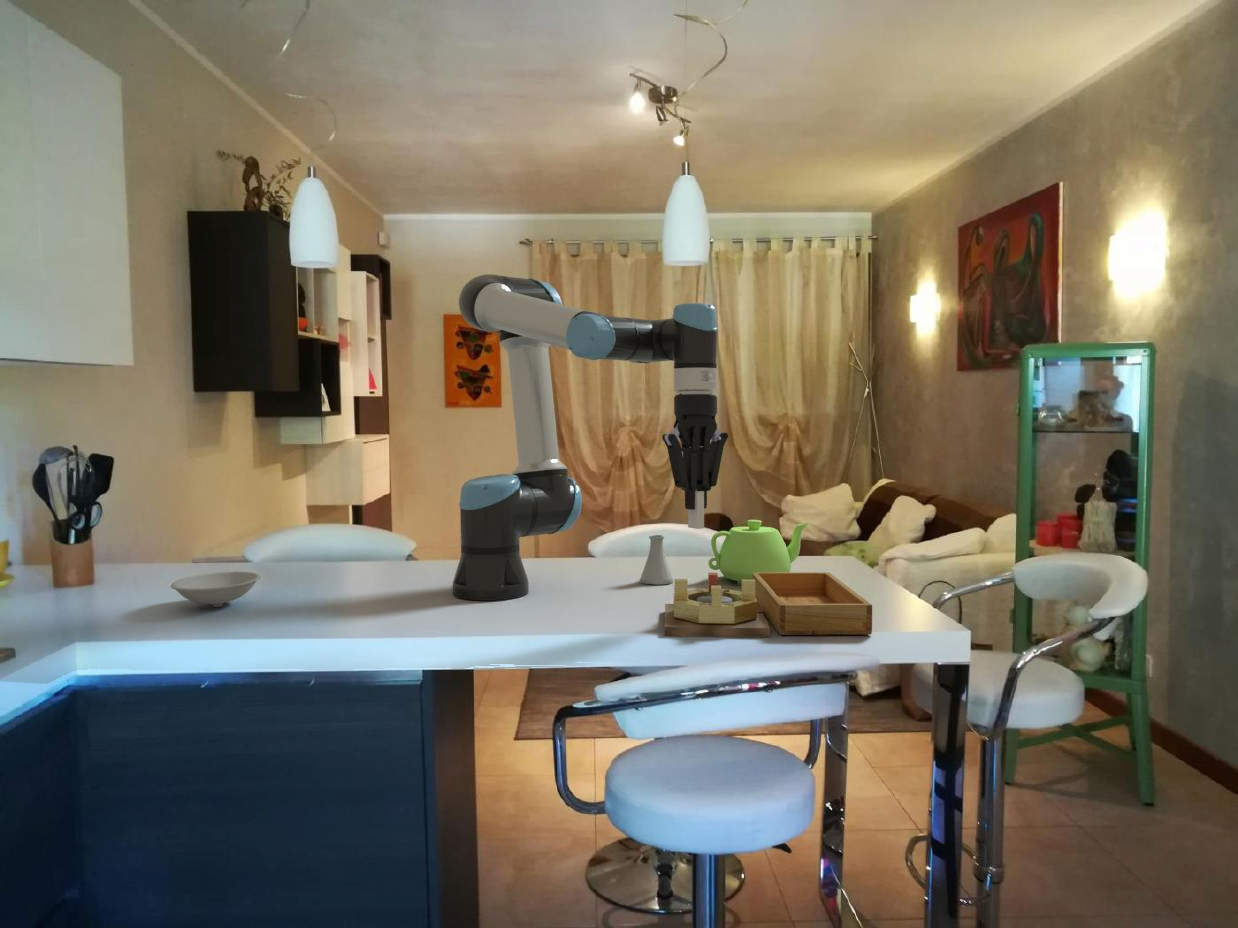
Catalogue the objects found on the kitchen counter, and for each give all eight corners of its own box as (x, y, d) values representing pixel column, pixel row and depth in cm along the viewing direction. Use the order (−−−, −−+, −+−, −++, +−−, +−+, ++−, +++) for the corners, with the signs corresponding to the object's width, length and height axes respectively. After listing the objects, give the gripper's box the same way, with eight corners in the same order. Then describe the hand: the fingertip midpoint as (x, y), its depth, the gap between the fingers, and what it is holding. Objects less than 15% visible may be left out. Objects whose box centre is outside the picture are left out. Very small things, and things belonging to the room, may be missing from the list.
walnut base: (664, 635, 145) (664, 609, 144) (665, 611, 162) (665, 588, 161) (771, 637, 144) (772, 610, 143) (761, 612, 161) (761, 589, 160)
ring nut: (673, 622, 146) (673, 587, 146) (673, 603, 160) (673, 572, 160) (759, 623, 145) (759, 588, 145) (751, 604, 159) (752, 572, 159)
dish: (225, 618, 157) (224, 590, 157) (151, 615, 159) (150, 588, 159) (278, 597, 175) (277, 572, 174) (211, 595, 177) (210, 570, 176)
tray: (752, 598, 175) (752, 569, 175) (829, 598, 175) (829, 570, 174) (778, 639, 144) (779, 604, 144) (872, 639, 144) (872, 604, 144)
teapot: (799, 573, 199) (800, 515, 198) (819, 586, 184) (820, 524, 183) (702, 574, 198) (702, 516, 197) (714, 588, 183) (715, 525, 182)
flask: (674, 579, 192) (674, 533, 192) (672, 586, 185) (673, 538, 185) (640, 578, 193) (640, 533, 192) (638, 585, 186) (638, 538, 185)
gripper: (677, 392, 148) (678, 533, 150) (738, 393, 155) (738, 527, 157) (652, 393, 155) (653, 528, 156) (712, 394, 162) (712, 523, 163)
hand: (696, 527), depth 156 cm, fingers closed
